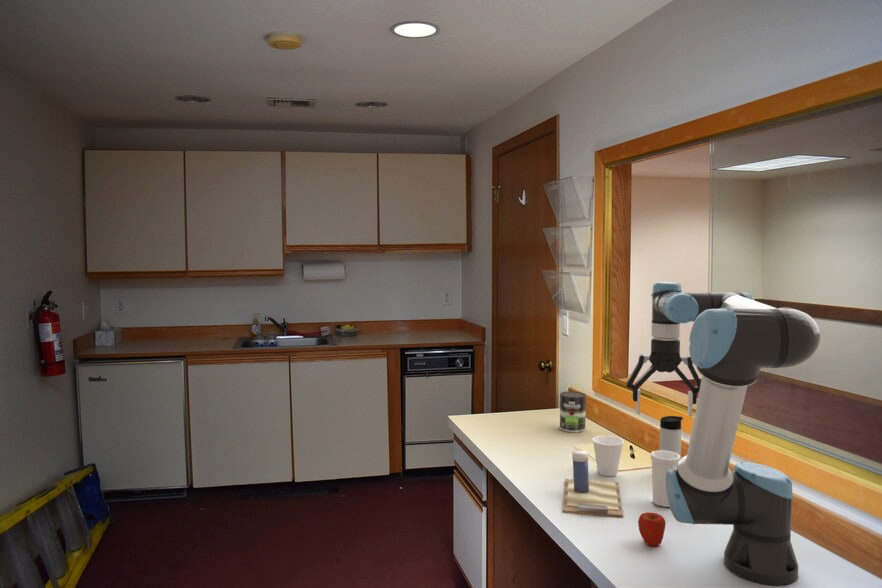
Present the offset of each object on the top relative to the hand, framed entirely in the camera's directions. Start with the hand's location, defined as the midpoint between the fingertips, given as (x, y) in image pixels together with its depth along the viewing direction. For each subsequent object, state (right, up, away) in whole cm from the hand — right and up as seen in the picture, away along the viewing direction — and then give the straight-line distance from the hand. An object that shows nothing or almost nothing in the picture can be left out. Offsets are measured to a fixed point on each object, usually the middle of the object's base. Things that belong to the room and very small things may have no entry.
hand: (663, 414), depth 175 cm
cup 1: (-8, -25, +29) cm, 39 cm away
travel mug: (+10, -25, +23) cm, 36 cm away
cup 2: (+2, -27, +5) cm, 27 cm away
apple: (-10, -29, -19) cm, 36 cm away
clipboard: (-18, -26, +9) cm, 33 cm away
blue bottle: (-20, -25, +13) cm, 34 cm away
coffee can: (-9, -21, +78) cm, 81 cm away
